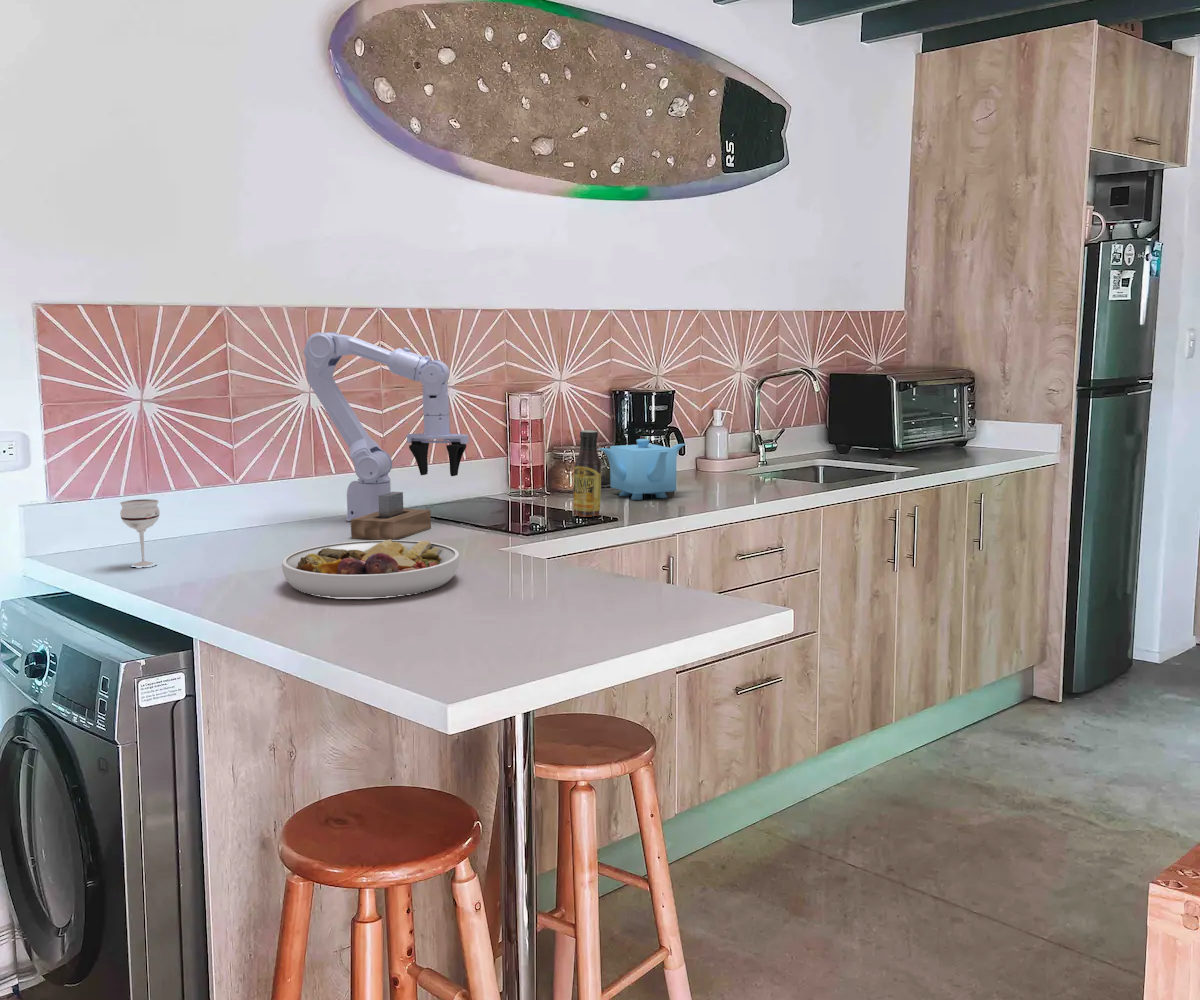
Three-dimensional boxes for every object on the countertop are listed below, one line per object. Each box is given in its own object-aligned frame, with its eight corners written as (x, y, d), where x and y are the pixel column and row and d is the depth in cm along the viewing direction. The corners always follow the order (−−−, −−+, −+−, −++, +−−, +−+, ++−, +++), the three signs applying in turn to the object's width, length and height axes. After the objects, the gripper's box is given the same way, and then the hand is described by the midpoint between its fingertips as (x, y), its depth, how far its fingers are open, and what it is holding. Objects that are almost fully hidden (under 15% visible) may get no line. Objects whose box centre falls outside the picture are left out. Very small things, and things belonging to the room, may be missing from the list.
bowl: (275, 573, 209) (273, 531, 208) (438, 560, 219) (437, 520, 218) (292, 612, 181) (290, 563, 180) (478, 595, 191) (477, 549, 190)
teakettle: (620, 489, 308) (620, 434, 305) (688, 492, 301) (688, 436, 299) (596, 500, 290) (596, 442, 288) (668, 503, 284) (668, 444, 282)
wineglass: (170, 562, 217) (166, 499, 215) (147, 570, 211) (143, 505, 209) (139, 561, 219) (135, 498, 217) (116, 568, 213) (111, 504, 211)
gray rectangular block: (379, 533, 244) (378, 495, 242) (394, 528, 249) (393, 491, 248) (389, 533, 243) (388, 496, 242) (404, 528, 248) (402, 492, 247)
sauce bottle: (568, 517, 264) (567, 431, 261) (581, 513, 270) (580, 429, 267) (593, 519, 261) (593, 432, 258) (606, 515, 267) (605, 430, 264)
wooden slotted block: (351, 538, 241) (350, 519, 240) (391, 525, 255) (390, 507, 255) (393, 541, 237) (392, 522, 236) (431, 528, 252) (430, 510, 251)
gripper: (398, 416, 256) (401, 476, 258) (457, 416, 251) (459, 478, 253) (414, 413, 263) (417, 472, 265) (471, 413, 258) (474, 474, 260)
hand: (439, 475), depth 260 cm, fingers open, 7 cm apart
